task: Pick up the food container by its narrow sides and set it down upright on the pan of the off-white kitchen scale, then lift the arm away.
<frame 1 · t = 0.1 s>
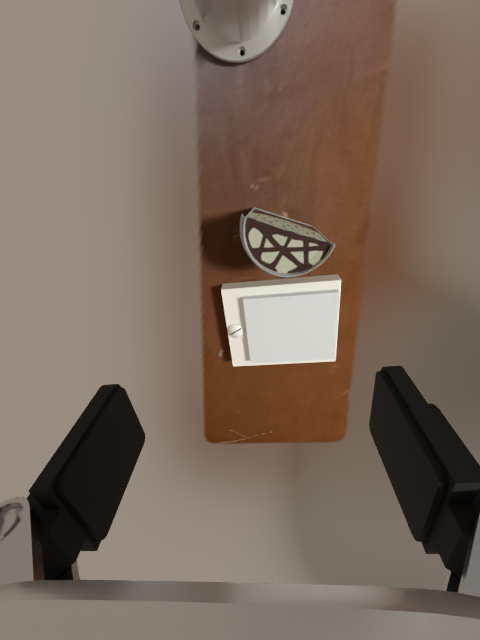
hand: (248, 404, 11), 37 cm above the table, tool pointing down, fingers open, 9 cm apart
food container: (276, 236, 44), on the table
scale: (280, 320, 51), on the table
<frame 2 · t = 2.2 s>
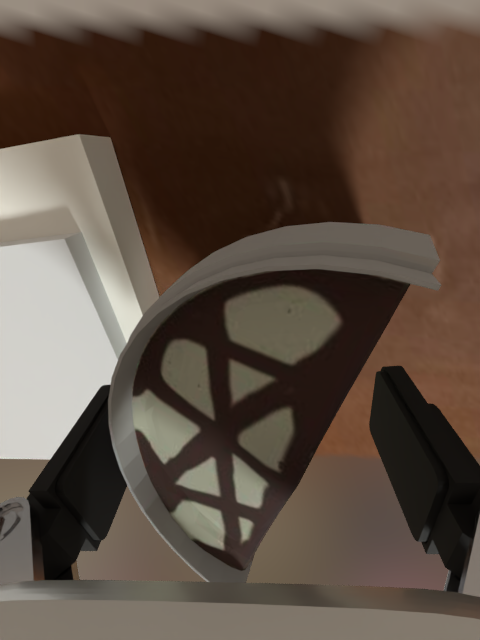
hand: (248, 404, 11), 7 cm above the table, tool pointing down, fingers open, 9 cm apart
food container: (280, 313, 16), on the table
scale: (52, 326, 19), on the table
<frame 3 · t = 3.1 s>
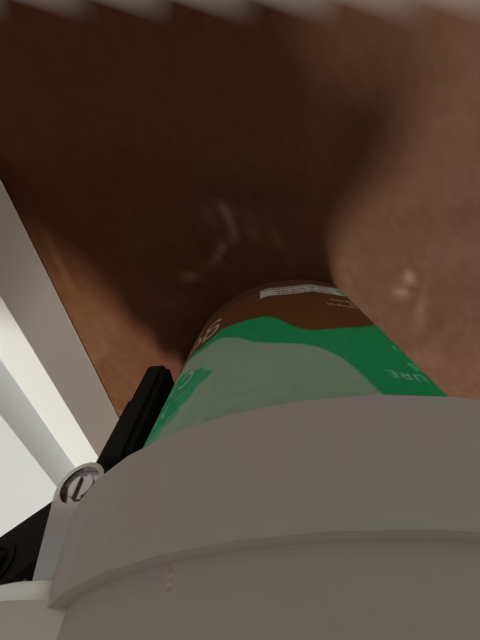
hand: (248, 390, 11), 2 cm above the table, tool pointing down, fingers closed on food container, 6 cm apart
food container: (233, 355, 13), on the table, touching gripper
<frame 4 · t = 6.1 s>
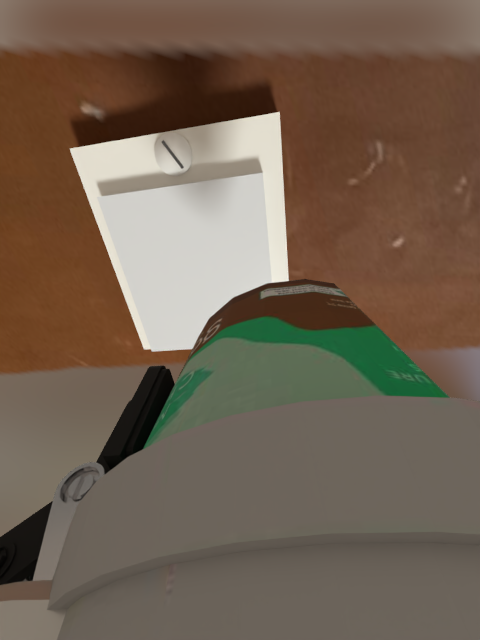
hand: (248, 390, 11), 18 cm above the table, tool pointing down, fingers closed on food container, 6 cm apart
food container: (234, 355, 13), point 16 cm above the table, touching gripper
scale: (201, 250, 27), on the table
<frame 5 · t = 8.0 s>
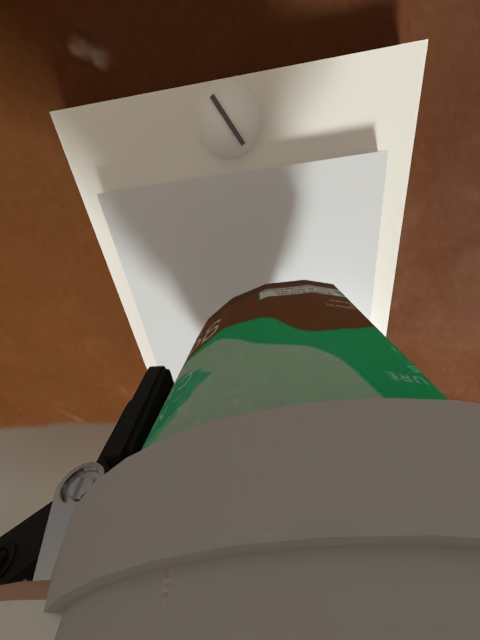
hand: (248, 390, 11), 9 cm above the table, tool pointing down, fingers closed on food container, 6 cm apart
food container: (233, 356, 13), point 7 cm above the table, touching gripper
scale: (251, 272, 18), on the table
when the fingers open (8 cm above the table, at t = 9.1 s): food container drops 2 cm, resting on scale.
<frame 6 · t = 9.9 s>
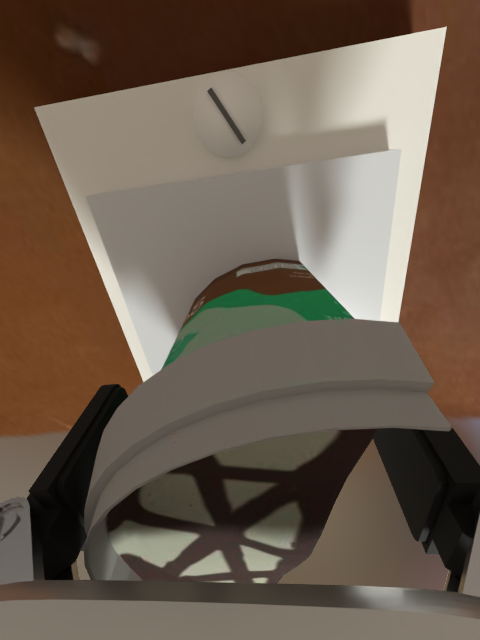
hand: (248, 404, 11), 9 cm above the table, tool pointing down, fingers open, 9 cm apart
food container: (219, 331, 15), point 4 cm above the table, touching scale
scale: (251, 278, 17), on the table
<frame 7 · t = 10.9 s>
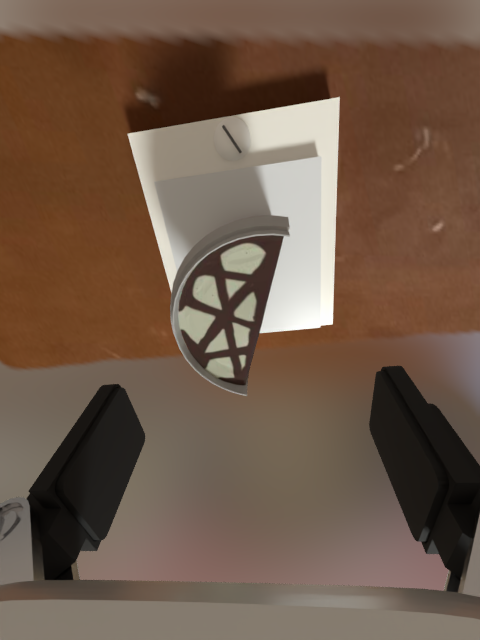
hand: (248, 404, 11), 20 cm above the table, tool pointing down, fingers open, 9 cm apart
food container: (227, 264, 26), point 3 cm above the table, touching scale
scale: (245, 236, 28), on the table
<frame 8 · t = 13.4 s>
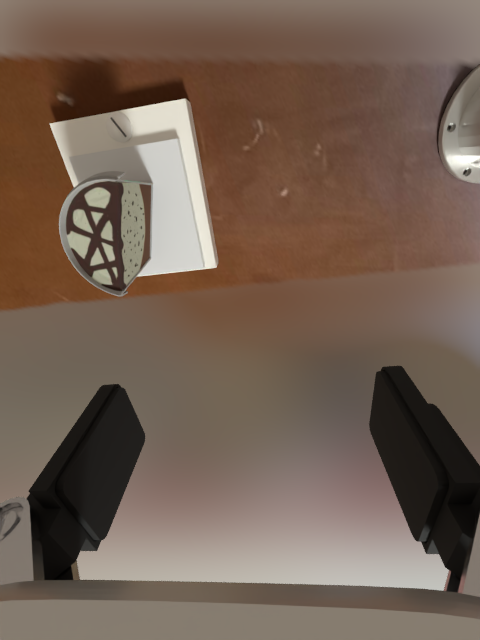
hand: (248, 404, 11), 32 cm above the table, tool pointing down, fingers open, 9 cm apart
food container: (128, 218, 36), point 3 cm above the table, touching scale
scale: (148, 200, 38), on the table
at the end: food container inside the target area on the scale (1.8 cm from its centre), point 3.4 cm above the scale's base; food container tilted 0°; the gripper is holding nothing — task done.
